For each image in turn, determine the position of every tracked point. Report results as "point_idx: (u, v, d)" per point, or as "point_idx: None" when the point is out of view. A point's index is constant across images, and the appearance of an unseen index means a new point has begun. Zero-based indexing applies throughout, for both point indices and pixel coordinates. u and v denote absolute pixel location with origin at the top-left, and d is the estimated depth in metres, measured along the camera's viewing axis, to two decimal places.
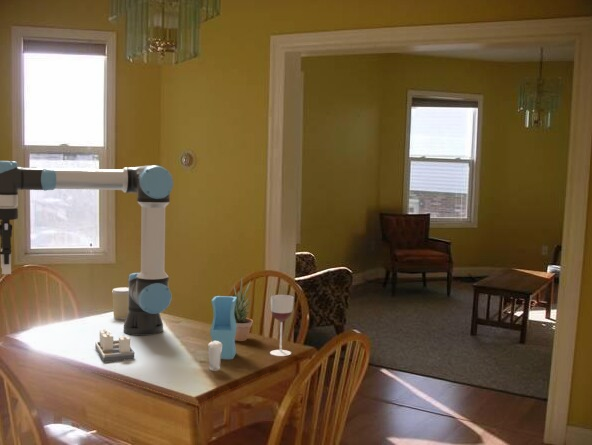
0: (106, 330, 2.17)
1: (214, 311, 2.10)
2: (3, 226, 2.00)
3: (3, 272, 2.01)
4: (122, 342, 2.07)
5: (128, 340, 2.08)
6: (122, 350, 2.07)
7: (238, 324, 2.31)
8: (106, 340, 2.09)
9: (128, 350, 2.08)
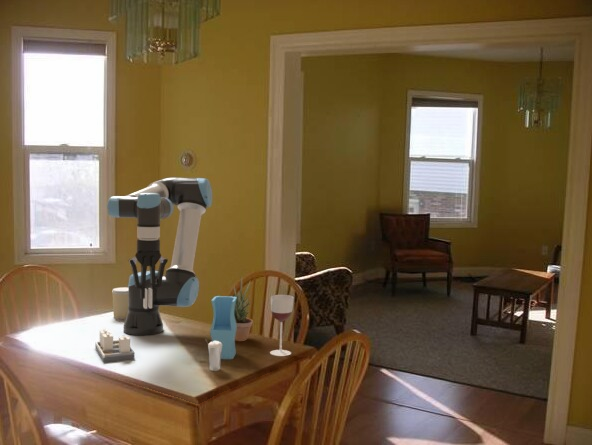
0: (106, 330, 2.17)
1: (214, 311, 2.10)
2: (129, 262, 2.08)
3: (143, 305, 2.12)
4: (122, 342, 2.07)
5: (128, 340, 2.08)
6: (122, 350, 2.07)
7: (238, 324, 2.31)
8: (106, 340, 2.09)
9: (128, 350, 2.08)
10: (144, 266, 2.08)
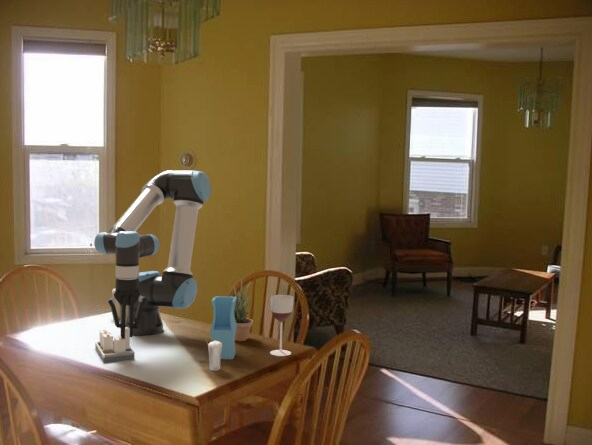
0: (106, 330, 2.17)
1: (214, 311, 2.10)
2: (108, 302, 2.06)
3: None
4: (117, 342, 2.06)
5: (123, 340, 2.07)
6: (117, 350, 2.06)
7: (238, 324, 2.31)
8: (106, 340, 2.09)
9: (123, 350, 2.07)
10: (123, 305, 2.06)
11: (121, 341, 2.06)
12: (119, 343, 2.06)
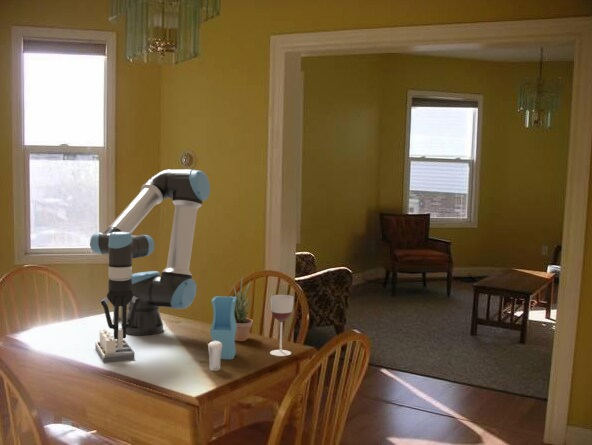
0: (106, 330, 2.17)
1: (214, 311, 2.10)
2: (101, 303, 2.05)
3: (117, 345, 2.09)
4: (108, 343, 2.05)
5: (114, 341, 2.05)
6: (108, 351, 2.05)
7: (238, 324, 2.31)
8: None
9: (114, 351, 2.06)
10: (116, 306, 2.05)
11: (111, 342, 2.05)
12: (109, 344, 2.05)
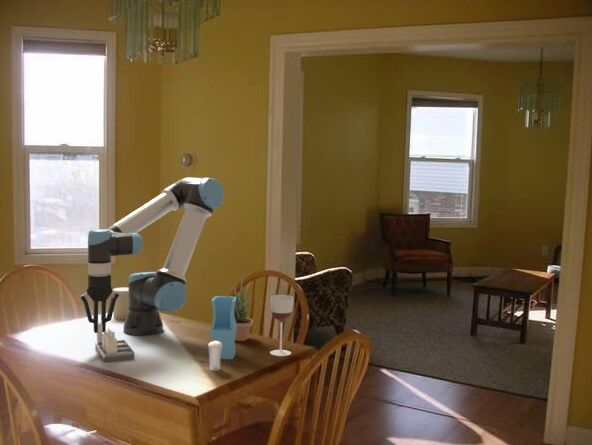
0: (110, 330, 2.18)
1: (214, 311, 2.10)
2: (81, 298, 2.12)
3: (97, 339, 2.16)
4: (109, 343, 2.05)
5: (115, 341, 2.06)
6: (109, 351, 2.05)
7: (238, 324, 2.31)
8: None
9: (115, 351, 2.06)
10: (95, 301, 2.12)
11: (113, 342, 2.05)
12: (111, 344, 2.05)
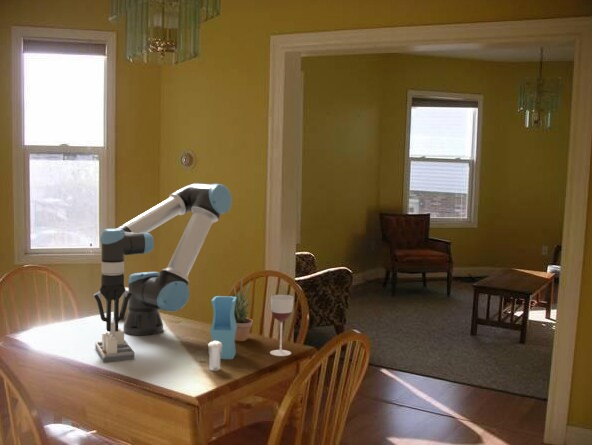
0: (120, 329, 2.19)
1: (214, 311, 2.10)
2: (94, 297, 2.14)
3: None
4: (109, 343, 2.05)
5: (115, 341, 2.06)
6: (109, 351, 2.05)
7: (238, 324, 2.31)
8: None
9: (115, 351, 2.06)
10: (108, 300, 2.14)
11: (113, 342, 2.05)
12: (111, 344, 2.05)
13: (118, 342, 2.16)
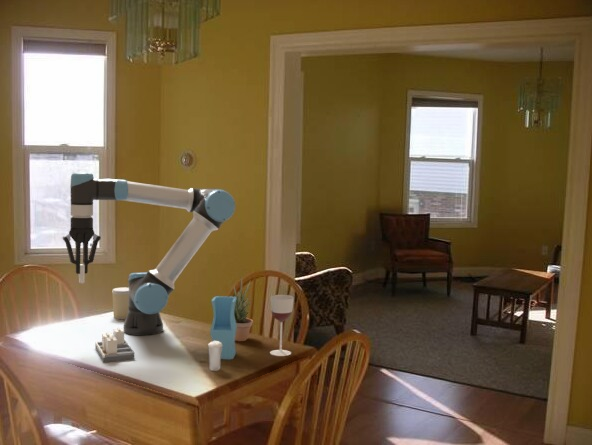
0: (120, 329, 2.19)
1: (214, 311, 2.10)
2: (63, 239, 2.18)
3: (79, 280, 2.21)
4: (109, 343, 2.05)
5: (115, 341, 2.06)
6: (109, 351, 2.05)
7: (238, 324, 2.31)
8: None
9: (115, 351, 2.06)
10: (78, 242, 2.18)
11: (113, 342, 2.05)
12: (111, 344, 2.05)
13: (118, 342, 2.16)
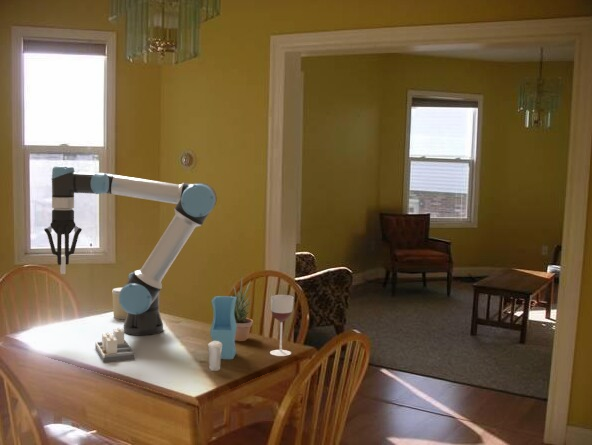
0: (120, 329, 2.19)
1: (214, 311, 2.10)
2: (45, 231, 2.24)
3: (60, 271, 2.27)
4: (109, 343, 2.05)
5: (115, 341, 2.06)
6: (109, 351, 2.05)
7: (238, 324, 2.31)
8: None
9: (115, 351, 2.06)
10: (59, 234, 2.24)
11: (113, 342, 2.05)
12: (111, 344, 2.05)
13: (118, 342, 2.16)
